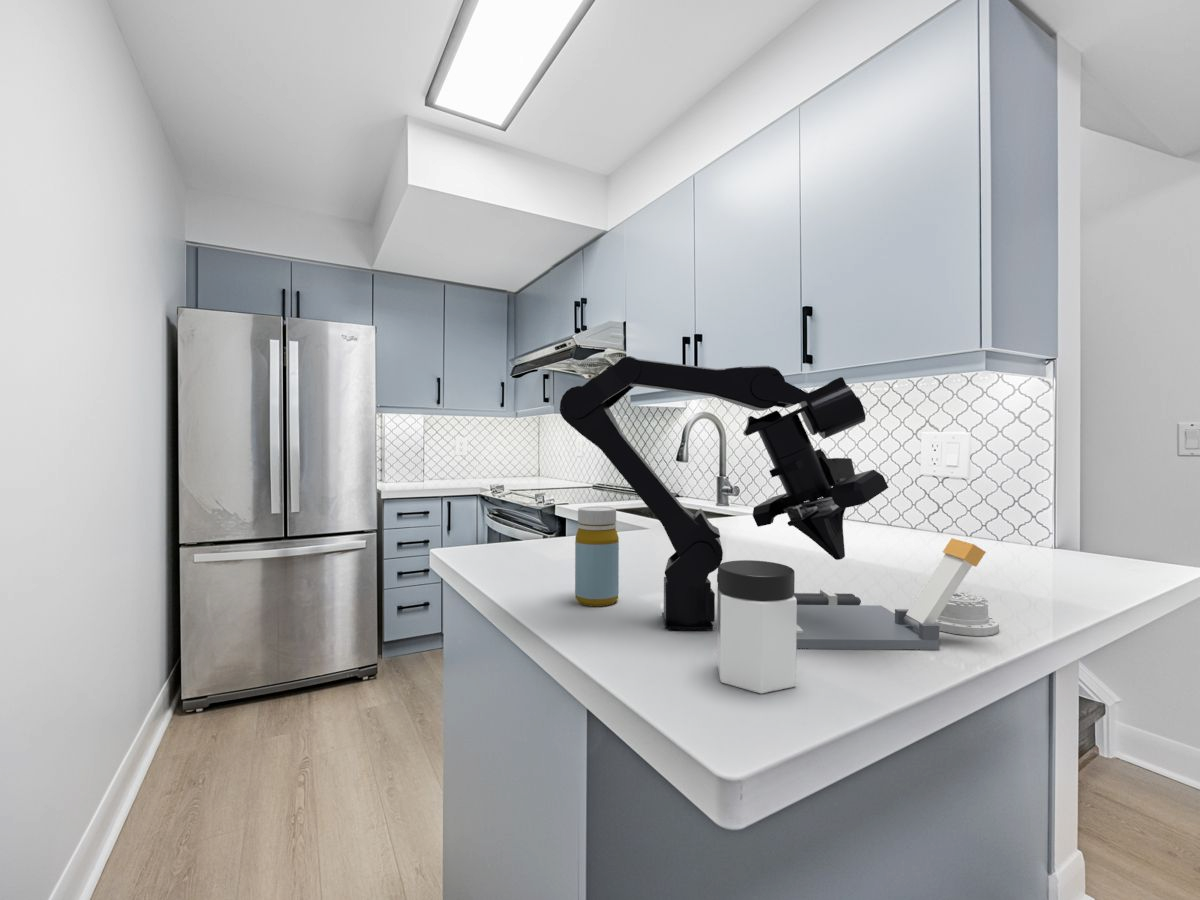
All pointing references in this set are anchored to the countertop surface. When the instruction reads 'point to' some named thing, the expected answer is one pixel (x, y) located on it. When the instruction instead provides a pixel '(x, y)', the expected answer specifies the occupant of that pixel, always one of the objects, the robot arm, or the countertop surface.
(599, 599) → the bottle
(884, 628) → the plate
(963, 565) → the lever
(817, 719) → the countertop surface
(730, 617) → the jar
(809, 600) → the dressed cords
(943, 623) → the mechanical component
